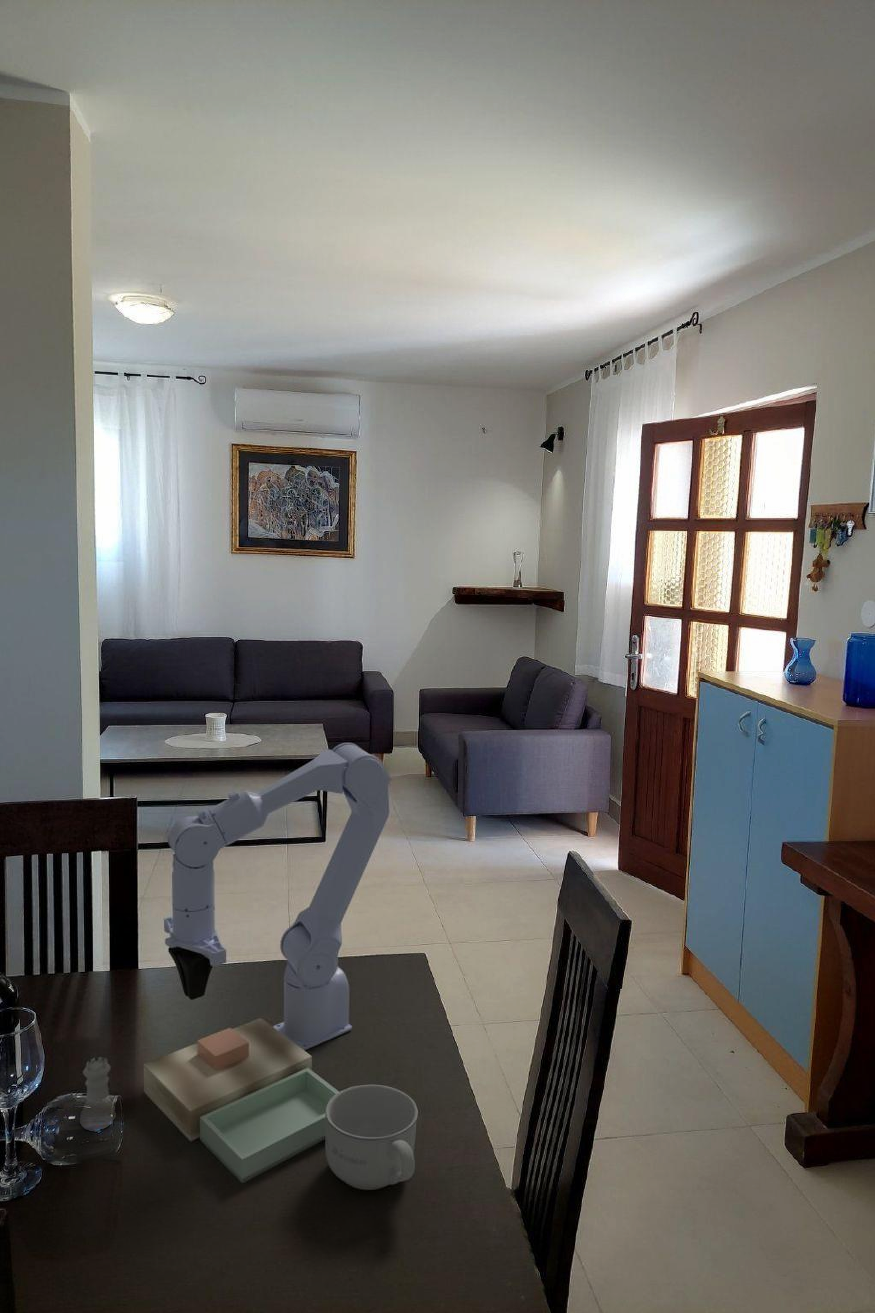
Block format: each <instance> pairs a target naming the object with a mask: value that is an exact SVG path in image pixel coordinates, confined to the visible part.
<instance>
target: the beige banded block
mask: <svg viewBox="0 0 875 1313" xmlns="http://www.w3.org/2000/svg"><path fill="white" fill-rule="evenodd" d="M232 1029H233V1030H234V1031H235V1032H236V1033H237V1034H239V1035H240V1036H241V1037H242V1038H244V1039H245V1040H246V1041H247V1042H249V1057H247V1058H244V1059H242V1060H240V1061H237V1062H235V1063H233V1064H230V1065H228V1066H226V1067H223V1068H221V1069H218V1070H214V1069H213V1068H212V1067H211V1066H210V1065H209V1064H208V1063H207V1062H206V1061H204V1060H203V1059H202V1058H201V1057H200V1056H199V1055H198V1054H197V1042H196V1043H194V1044H191V1045H189V1046H185V1047H184V1048H181V1049H179V1050H176V1051H173V1052H171V1053H168V1054H166V1055H164V1056H161V1057H158V1058H156V1059H153V1060H150V1061H149V1062H145V1063H144V1064H143V1093H144V1094H145V1095H146V1096H147V1097H148V1098H149V1099H150V1101H152V1102H153V1104H154V1105H156V1106H157V1107H158V1109H159V1110H161V1112H162V1113H163V1114H164V1115H165V1116H166V1117H167V1118H168V1119H169V1120H170V1121H171V1122H172V1123H173V1124H174V1126H176V1127H177V1128H178V1130H179V1131H180V1132H181V1133H182V1135H184V1136H185V1137H186V1138H187V1139H188V1140H189V1142H193V1141H194V1140H197V1139H198V1138H199V1139H200V1117H201V1116H204V1115H206V1114H208V1113H210V1112H212V1111H214V1110H217V1109H219V1108H221V1107H223V1106H225V1105H228V1104H230V1103H232V1102H234V1101H236V1100H238V1099H241V1098H243V1097H245V1096H247V1095H249V1094H251V1093H254V1092H256V1091H258V1090H260V1089H262V1088H265V1087H267V1086H269V1085H271V1084H273V1083H275V1082H278V1081H280V1080H282V1079H284V1078H286V1077H289V1076H291V1075H293V1074H295V1073H297V1072H299V1071H302V1070H304V1069H306V1068H309V1069H310V1070H312V1071H313V1056H312V1055H311V1054H309V1052H307V1050H303V1049H302V1048H300V1047H299V1046H298V1045H296V1044H295V1043H294V1042H292V1041H291V1040H290V1039H288V1038H287V1037H286V1036H284V1035H283V1034H282V1033H280V1032H279V1031H278V1030H276V1029H275V1028H274V1027H273V1026H272V1025H271V1023H268V1022H267V1021H266V1020H264V1019H263V1018H262V1017H259V1018H256V1019H254V1020H252V1021H249V1022H247V1023H244V1024H241V1025H239V1026H237V1027H234V1028H232Z"/></svg>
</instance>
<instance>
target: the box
mask: <svg viewBox="0 0 875 1313" xmlns="http://www.w3.org/2000/svg"><path fill="white" fill-rule="evenodd" d="M339 1092H340V1091H339V1090H338V1089H336V1088H335V1087H334V1086H332V1085H331V1084H330V1083H329V1082H328V1081H326V1080H325V1079H323V1078H322V1077H321V1076H319V1075H318V1074H317V1073H315V1072H314V1071H313V1069H312V1070H310V1069H309V1068H306V1069H304V1070H302V1071H299V1072H297V1073H295V1074H293V1075H291V1076H289V1077H286V1078H284V1079H282V1080H280V1081H278V1082H275V1083H273V1084H271V1085H269V1086H267V1087H265V1088H262V1089H260V1090H258V1091H256V1092H254V1093H251V1094H249V1095H247V1096H245V1097H243V1098H241V1099H238V1100H236V1101H234V1102H232V1103H230V1104H228V1105H225V1106H223V1107H221V1108H219V1109H217V1110H214V1111H212V1112H210V1113H208V1114H206V1115H204V1116H201V1117H200V1137H199V1140H200V1141H201V1142H202V1143H203V1145H204V1146H205V1147H206V1148H207V1149H208V1150H209V1151H210V1152H211V1153H212V1154H213V1155H214V1156H215V1157H216V1158H217V1159H218V1161H220V1162H221V1163H222V1165H224V1167H226V1168H227V1170H228V1171H229V1172H230V1173H231V1174H233V1176H234V1177H236V1179H237V1180H238V1181H239V1182H240V1183H241V1184H244V1183H246V1182H247V1181H249V1180H251V1179H253V1178H255V1177H257V1176H259V1175H261V1174H263V1173H265V1172H267V1171H268V1170H270V1169H272V1168H274V1167H276V1166H278V1165H280V1164H282V1163H283V1162H284V1161H288V1160H289V1159H291V1158H292V1157H294V1156H295V1157H296V1156H297V1155H298V1154H300V1153H302V1152H305V1151H306V1150H308V1149H310V1148H311V1147H313V1146H315V1145H317V1144H318V1143H321V1142H322V1141H324V1140H325V1133H326V1115H325V1111H326V1106H327V1104H328V1102H329V1101H330V1099H331V1098H332V1097H333V1096H334V1095H336V1094H337V1093H339Z"/></svg>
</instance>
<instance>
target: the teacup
mask: <svg viewBox="0 0 875 1313" xmlns="http://www.w3.org/2000/svg"><path fill="white" fill-rule="evenodd" d="M418 1110H419V1109H418V1107H417V1104H416V1102H415V1101H414V1100H413V1098H411V1097H410V1095H408V1094H406V1092H403V1091H402V1090H399V1089H397V1088H395V1087H391V1086H388V1085H382V1084H361V1085H355V1086H350V1087H349V1088H345V1089H343V1090H340V1091H339V1093H337V1094H336V1095H334V1096H333V1097H332V1098H331V1099H330V1101H329V1102H328V1104H327V1106H326V1111H325V1115H326V1133H325V1141H324V1142H325V1146H324V1147H325V1148H324V1149H325V1155H326V1156H325V1157H326V1161H327V1164H328V1166H329V1168H330V1170H331V1171H332V1172H333V1174H334V1175H335V1176H336V1177H337V1178H339V1180H341V1181H343V1182H345V1184H347V1185H349V1186H350V1187H352V1188H356V1189H359V1190H365V1191H366V1190H367V1191H371V1190H372V1191H373V1190H379V1189H382V1188H385V1187H387V1186H389V1185H395V1184H398V1183H399V1182H405V1181H408V1180H410V1178H411V1177H413V1175H414V1173H415V1169H416V1162H415V1156H414V1155H415V1154H414V1150H415V1142H416V1131H417V1129H416V1128H417V1120H418V1117H419V1112H418Z"/></svg>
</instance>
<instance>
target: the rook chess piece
mask: <svg viewBox="0 0 875 1313" xmlns="http://www.w3.org/2000/svg"><path fill="white" fill-rule="evenodd" d="M111 1070H112V1067H111V1065H110V1064H109V1063H108V1059H107V1058H103V1056H102V1057H101V1056H98V1059H97V1060H96V1059H95V1057H93V1058H91V1059H90V1061H87V1062H86V1063H85V1068H84V1069H83V1071H82V1075H83V1076H84V1077H85V1078H86V1081H85V1082H84V1083H85V1084H84V1085H85V1086H86V1096H87V1098H88V1100H89V1101H91V1102H101V1101H103V1100H102V1099H105V1098H106V1097H107V1096H110V1094H109V1086H108V1082H109V1081H110V1078H109V1076H108V1074H109V1072H110V1071H111Z"/></svg>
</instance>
